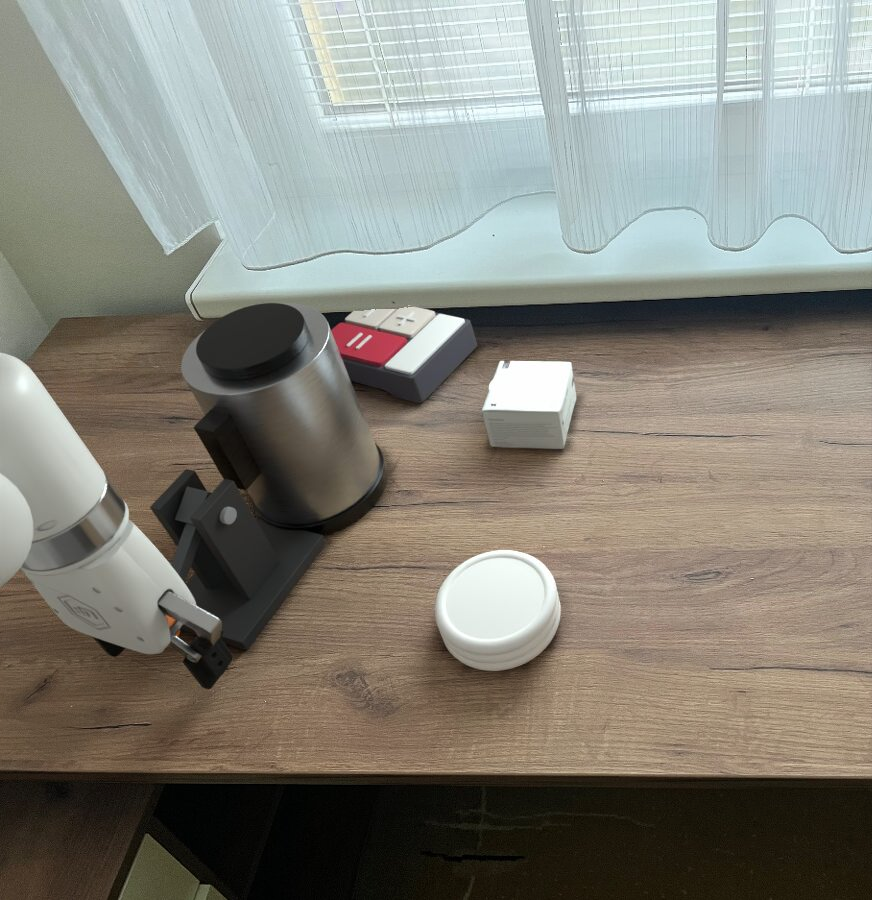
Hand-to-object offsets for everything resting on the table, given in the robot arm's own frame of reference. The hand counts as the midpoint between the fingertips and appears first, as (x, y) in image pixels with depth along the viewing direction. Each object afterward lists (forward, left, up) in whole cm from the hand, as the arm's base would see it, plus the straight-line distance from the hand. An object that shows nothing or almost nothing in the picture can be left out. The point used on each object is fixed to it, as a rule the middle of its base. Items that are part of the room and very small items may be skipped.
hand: (171, 657), depth 71 cm
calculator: (+34, +24, -2) cm, 41 cm away
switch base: (+8, +5, -2) cm, 9 cm away
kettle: (+18, +11, -2) cm, 21 cm away
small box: (+39, +4, -2) cm, 39 cm away
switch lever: (+5, +3, +4) cm, 7 cm away
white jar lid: (+23, -14, -2) cm, 27 cm away
